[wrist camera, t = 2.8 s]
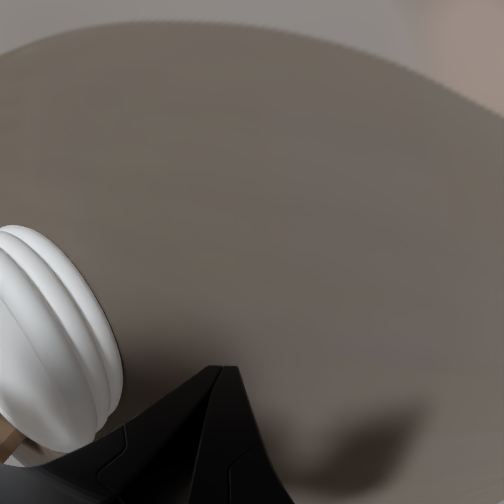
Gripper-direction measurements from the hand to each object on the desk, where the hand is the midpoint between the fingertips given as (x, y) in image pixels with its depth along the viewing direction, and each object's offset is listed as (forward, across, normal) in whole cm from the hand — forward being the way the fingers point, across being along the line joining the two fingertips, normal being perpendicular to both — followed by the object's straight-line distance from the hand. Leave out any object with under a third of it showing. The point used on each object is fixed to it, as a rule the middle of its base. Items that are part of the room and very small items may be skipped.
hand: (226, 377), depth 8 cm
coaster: (+2, +9, 0) cm, 10 cm away
